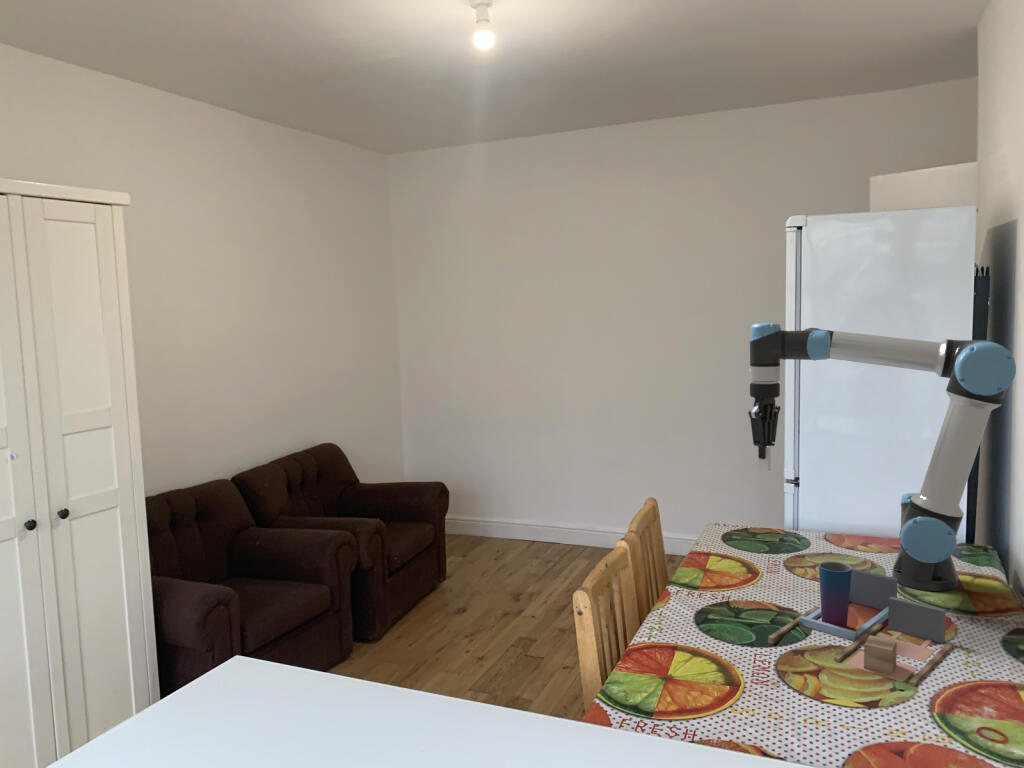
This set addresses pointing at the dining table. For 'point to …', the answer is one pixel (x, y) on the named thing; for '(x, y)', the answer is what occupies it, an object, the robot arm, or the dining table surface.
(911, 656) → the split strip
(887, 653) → the walnut cube
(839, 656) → the lane guides
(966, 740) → the dining table surface
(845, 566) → the cup
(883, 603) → the frame
